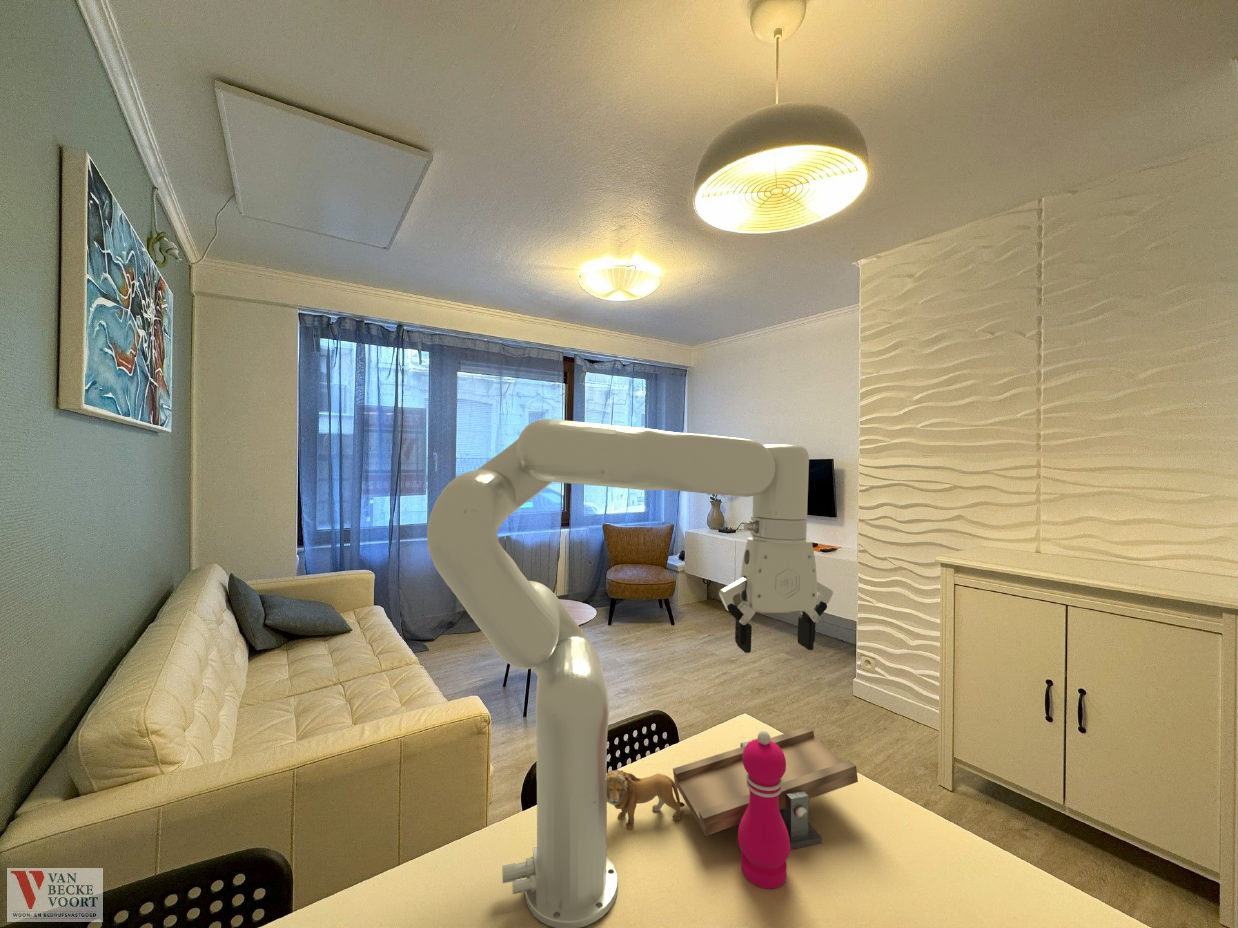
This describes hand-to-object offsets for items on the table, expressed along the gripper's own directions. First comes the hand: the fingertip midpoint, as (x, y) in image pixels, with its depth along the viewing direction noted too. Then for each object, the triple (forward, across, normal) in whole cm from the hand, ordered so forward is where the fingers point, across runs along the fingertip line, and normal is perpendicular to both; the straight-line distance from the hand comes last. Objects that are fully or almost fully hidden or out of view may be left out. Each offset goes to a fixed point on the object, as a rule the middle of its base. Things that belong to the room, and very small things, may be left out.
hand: (774, 648), depth 73 cm
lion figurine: (+32, -16, +12) cm, 38 cm away
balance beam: (+27, +5, +11) cm, 29 cm away
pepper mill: (+32, -1, -1) cm, 32 cm away
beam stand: (+31, +6, +11) cm, 34 cm away
